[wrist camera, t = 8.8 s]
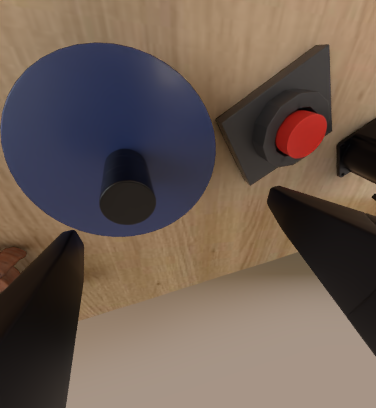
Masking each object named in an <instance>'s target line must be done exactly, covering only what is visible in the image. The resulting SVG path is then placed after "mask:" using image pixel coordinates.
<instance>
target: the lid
mask: <svg viewBox="0 0 376 408" xmlns="http://www.w3.org/2000/svg"><path fill="white" fill-rule="evenodd" d="M0 129H1V144H2V148H3V152H4V157H5V160H6V162H7V165H8V167H9V170H10V172H11V174H12V175H13V177H14V179H15V181H16V182H17V184H18V185H19V187H20V188H21V189H22V191H23V192H24V193H25V194H26V196H27V197H28V198H29V199H30V200H31V201H32V202H33V203H34V204H35V205H36V206H38V207H39V208H40V209H41V210H43V211H44V212H45V213H46V214H48V215H50V216H51V217H53V218H54V219H56V220H57V221H59V222H61V223H63V224H65V225H67V226H70V227H72V228H75V229H77V230H80V231H84V232H87V233H91V234H96V235H101V236H111V237H126V236H135V235H141V234H146V233H149V232H153V231H156V230H158V229H161V228H163V227H165V226H167V225H169V224H171V223H173V222H174V221H176V220H178V219H179V218H180V217H182V216H183V215H184V214H186V213H187V212H188V211H189V210H190V209H191V208H192V207H193V206H194V205H195V204H196V203H197V201H198V200H199V199H200V197H201V196H202V194H203V193H204V191H205V189H206V187H207V185H208V183H209V181H210V178H211V176H212V172H213V168H214V163H215V155H216V143H215V135H214V130H213V126H212V122H211V119H210V117H209V114H208V112H207V109H206V107H205V105H204V104H203V102H202V100H201V99H200V97H199V95H198V94H197V93H196V91H195V90H194V89H193V87H192V86H191V85H190V84H189V83H188V82H187V81H186V80H185V79H184V78H183V77H182V76H181V75H180V74H179V73H178V72H177V71H176V70H174V69H173V68H172V67H170V66H169V65H168V64H166V63H165V62H163V61H161V60H159V59H158V58H156V57H154V56H152V55H150V54H148V53H145V52H143V51H140V50H137V49H135V48H132V47H127V46H123V45H118V44H112V43H85V44H76V45H72V46H69V47H65V48H62V49H58V50H56V51H54V52H52V53H50V54H48V55H46V56H44V57H42V58H40V59H39V60H38V61H36V62H35V63H34V64H33V65H31V66H30V67H29V68H27V69H26V70H25V72H24V73H23V74H22V75H21V76H20V77H19V78H18V80H17V81H16V82H15V84H14V86H13V87H12V89H11V91H10V93H9V94H8V96H7V99H6V102H5V105H4V108H3V111H2V118H1V126H0Z"/></svg>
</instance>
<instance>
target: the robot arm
mask: <svg viewBox="0 0 376 408" xmlns="http://www.w3.org/2000/svg"><path fill="white" fill-rule="evenodd" d="M349 172H352V173H354V174H356V175H358V176H360V177H362V178H365V179H367V180H369V181H371V182H373V183H375V184H376V119H374V120H373V121H371V122H370V123H368V124H367V125H365V126H363V127H362V128H360V129H359V130H357V131H356V132H354V133H353V134H351V135H350V136H348V137H347V138H345V139H344V140H342V141H341V142H339V143H338V145H337V176H339V177H343V176H344V175H346V174H348V173H349ZM372 198H373V199H374V200H376V194H374V195H373V196H372ZM267 204H268V206H269V208H270V210H271V212H272V213H273V215H274V217H275V218H276V220H277V222H278V223H279V225H280V227H281V228H282V230H283V231H284V233H285V234H286V236H287V237H288V238H289V240H290V241H291V242H292V244H293V245H294V246H295V248H296V249H297V250H298V252H299V253H300V255H301V256H302V257H303V259H304V260H305V261H306V263H307V264H308V265H309V266H310V268H311V269H312V271H313V272H314V273H315V275H316V276H317V277H318V279H319V280H320V282H321V283H322V284H323V286H324V287H325V288H326V290H327V291H328V292H329V294H330V295H331V296H332V298H333V299H334V300H335V302H336V303H337V304H338V306H339V307H340V309H341V310H342V311H343V313H344V314H345V315H346V316H347V318H348V320H349V321H350V322H351V324H352V325H353V326H354V328H355V329H356V330H357V332H358V333H359V334H360V336H361V337H362V339H363V340H364V341H365V343H366V344H367V345H368V347H369V348H370V349H371V351H372V352H373V353H374V355H375V356H376V216H373V215H370V214H367V213H366V214H365V213H364V212H361V211H357V210H354V209H351V208H348V207H345V206H342V205H338V204H335V203H332V202H329V201H326V200H323V199H320V198H316V197H313V196H310V195H307V194H304V193H301V192H297V191H294V190H291V189H288V188H285V187H282V186H276V187H272V188H271V189H270V191H269V195H268V199H267ZM83 280H84V245H83V242H82V241H81V239H80V237H79V236H78V234H77V232H76V231H75V230H70V231H65V232H63V233H61V234H60V235H59V236H58V237H57V238H56V239H55V240H54V241H53V242H52V243H51V244H50V245H49V246H48V247H47V248H46V249H45V250H44V251H43V252H42V253H41V254H40V255H39V256H38V257H37V258H36V259H35V260H34V261H33V262H32V263H31V264H30V265H29V266H28V267H27V268H26V269H25V270H24V271H23V272H22V273H21V274H20V275H19V276H18V277H17V278H16V279H15V280H14V281H13V282H12V283H11V284H10V285H9V286H8V287H7V288H5V289H4V290H3V291H2V292H1V293H0V408H66V402H67V395H68V388H69V381H70V373H71V366H72V359H73V352H74V345H75V338H76V331H77V324H78V317H79V310H80V303H81V296H82V289H83Z"/></svg>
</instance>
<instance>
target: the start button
mask: <svg viewBox="0 0 376 408" xmlns="http://www.w3.org/2000/svg"><path fill="white" fill-rule="evenodd" d="M326 129H327V122H326V119H325V118H324V116H322V115H320V114H317V113H313V112H310V111H306V110H298V111H295V112H293V113H292V114H290V115H289V116H288V117H287V118H285V120H284V121H283V123H282V124H281V125H280V127H279V128H278V131H277V134H276V139H275V142H276V146H277V148H278V149H279V150H280V151H282V152H283V153H285V154H287V155H289V156H290V157H292V158H303V157H305V156H307V155H309V154H310V153H312V152H313V151H314V150H315V149H316V148H317V147H318V146H319V144H320V143H321V141H322V140H323V138H324V136H325V133H326Z"/></svg>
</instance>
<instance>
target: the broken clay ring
mask: <svg viewBox="0 0 376 408" xmlns="http://www.w3.org/2000/svg"><path fill="white" fill-rule="evenodd" d="M25 256H26V252H25V251H24V250H21V249H19V248H16V247H11V248H8V249H4V250H3V251H1V252H0V276H1V278H0V291H1V292H2V291H3V290H4V289H5V288H7V287H8V286H9V285H10V284H11V283H12V282H13V281H14V280H15V279H16V278H17V277H18V276H19V275H20V272H19V271H18V270H17V269H16V268H15V267H13V266H14V265H15V264H16V263H17V262H18V261H19V260H20V259H22V258H24V257H25Z"/></svg>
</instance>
